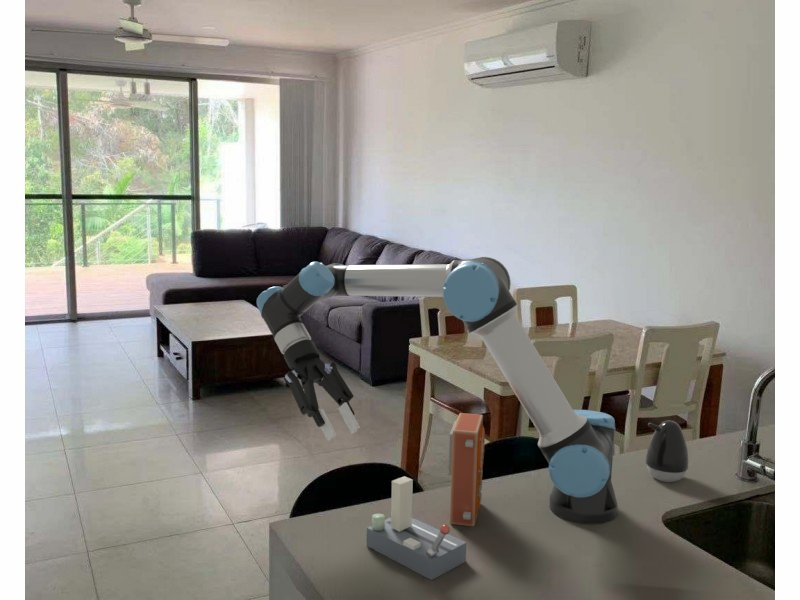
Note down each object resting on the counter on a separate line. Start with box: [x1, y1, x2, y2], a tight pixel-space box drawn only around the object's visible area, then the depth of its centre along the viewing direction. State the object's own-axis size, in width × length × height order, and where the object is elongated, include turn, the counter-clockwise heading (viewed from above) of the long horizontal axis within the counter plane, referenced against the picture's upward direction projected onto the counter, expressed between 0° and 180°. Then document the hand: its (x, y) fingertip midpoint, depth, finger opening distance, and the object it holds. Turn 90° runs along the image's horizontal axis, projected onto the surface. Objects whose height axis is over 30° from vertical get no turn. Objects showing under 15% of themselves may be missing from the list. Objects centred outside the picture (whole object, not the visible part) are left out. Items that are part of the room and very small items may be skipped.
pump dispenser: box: [645, 420, 689, 483], centre depth 188 cm, size 10×10×15 cm
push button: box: [371, 513, 386, 531], centre depth 150 cm, size 3×3×2 cm
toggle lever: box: [426, 524, 451, 557], centre depth 139 cm, size 2×2×8 cm
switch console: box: [366, 516, 467, 581], centre depth 149 cm, size 18×10×5 cm, turn 45°
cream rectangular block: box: [390, 475, 414, 532], centre depth 150 cm, size 2×4×10 cm, turn 135°
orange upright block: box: [447, 412, 486, 527], centre depth 166 cm, size 21×7×15 cm
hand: (344, 433), depth 161 cm, fingers open, 6 cm apart
